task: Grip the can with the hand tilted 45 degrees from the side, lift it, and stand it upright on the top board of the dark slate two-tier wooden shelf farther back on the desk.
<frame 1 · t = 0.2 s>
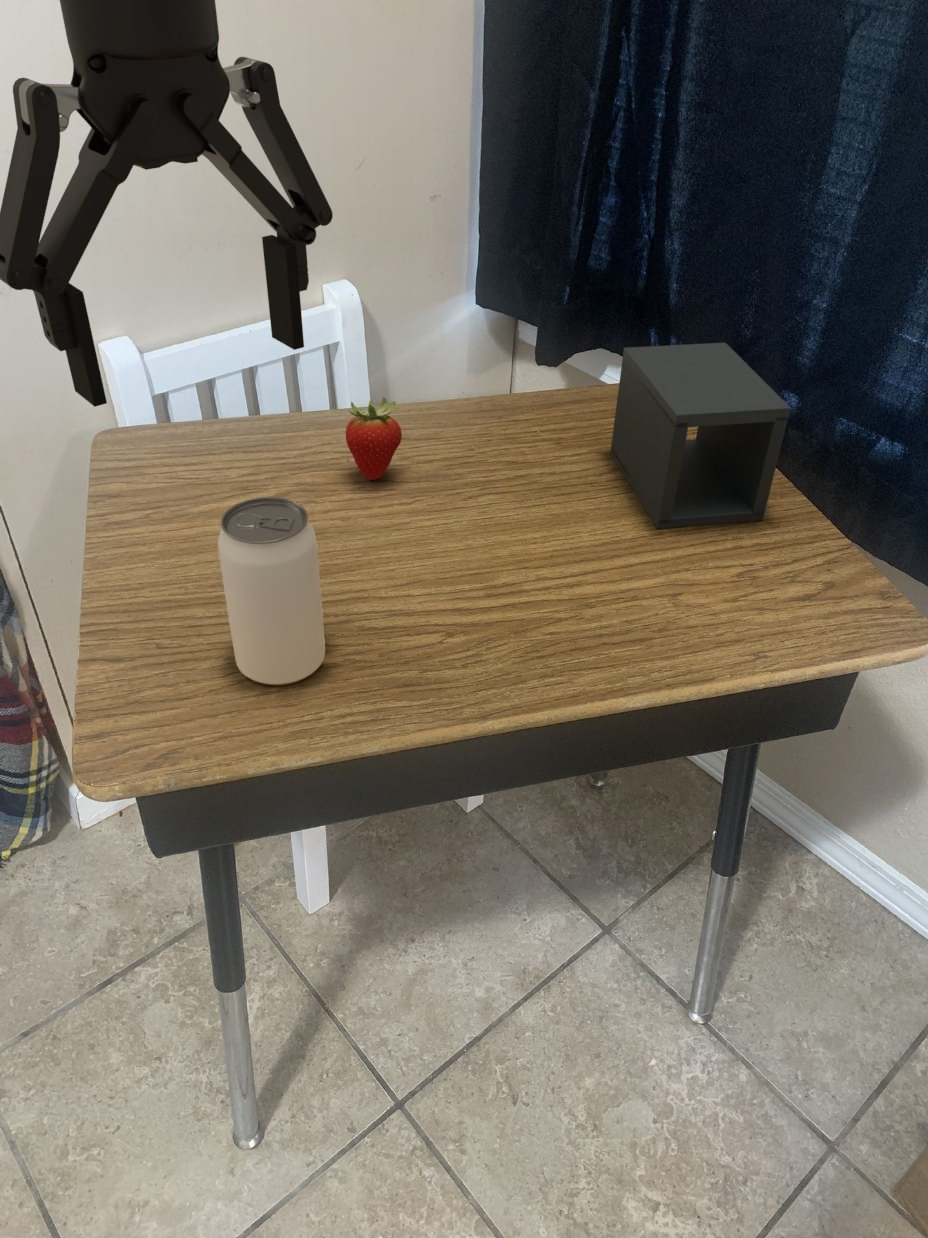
hand: (195, 368, 61), 21 cm above the table, tool pointing down, fingers open, 13 cm apart
can: (281, 661, 71), on the table
shelf: (682, 485, 92), on the table
fruit: (375, 479, 92), on the table
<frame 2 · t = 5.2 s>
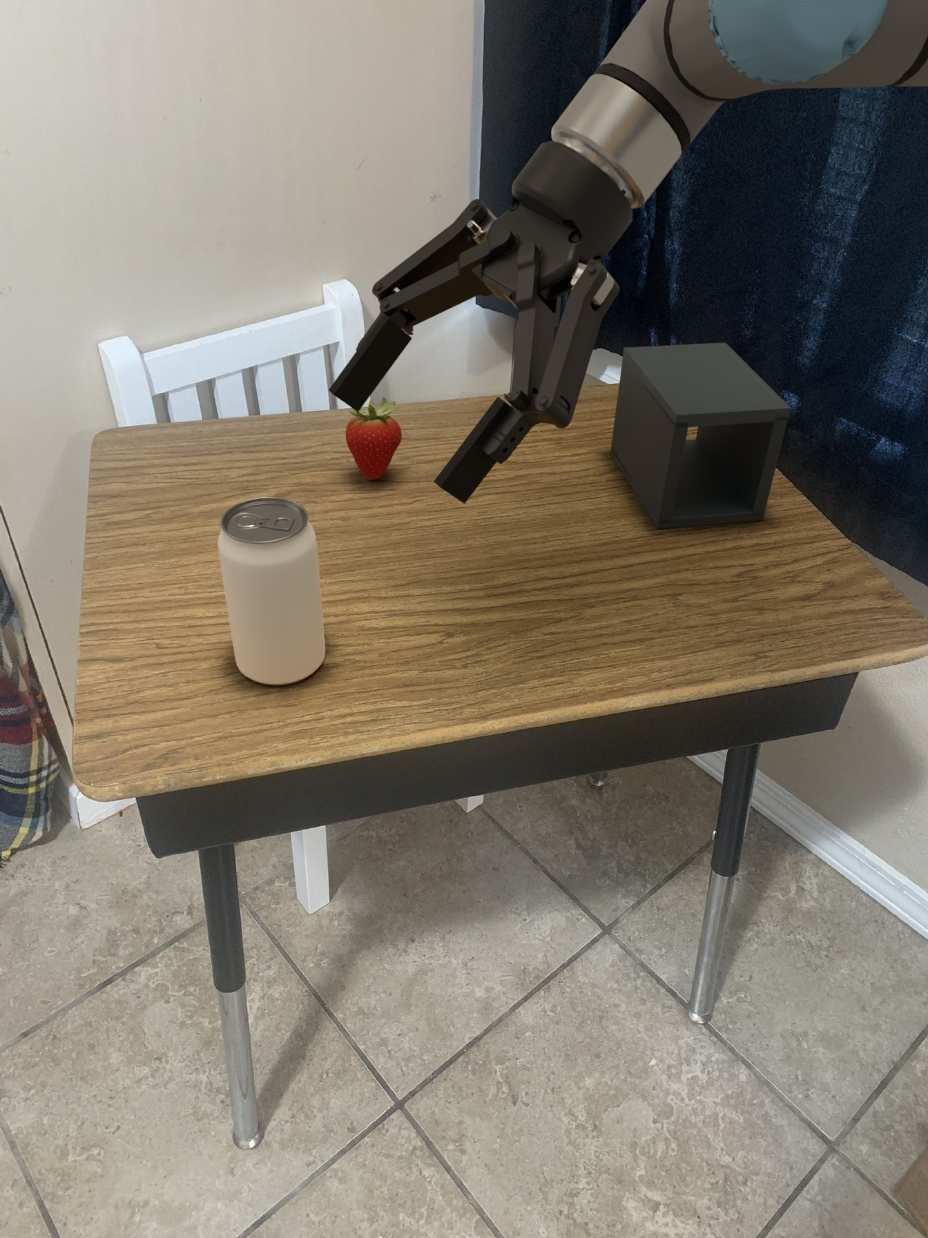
hand: (392, 444, 66), 15 cm above the table, tool tilted 45°, fingers open, 13 cm apart
nothing on the table moved.
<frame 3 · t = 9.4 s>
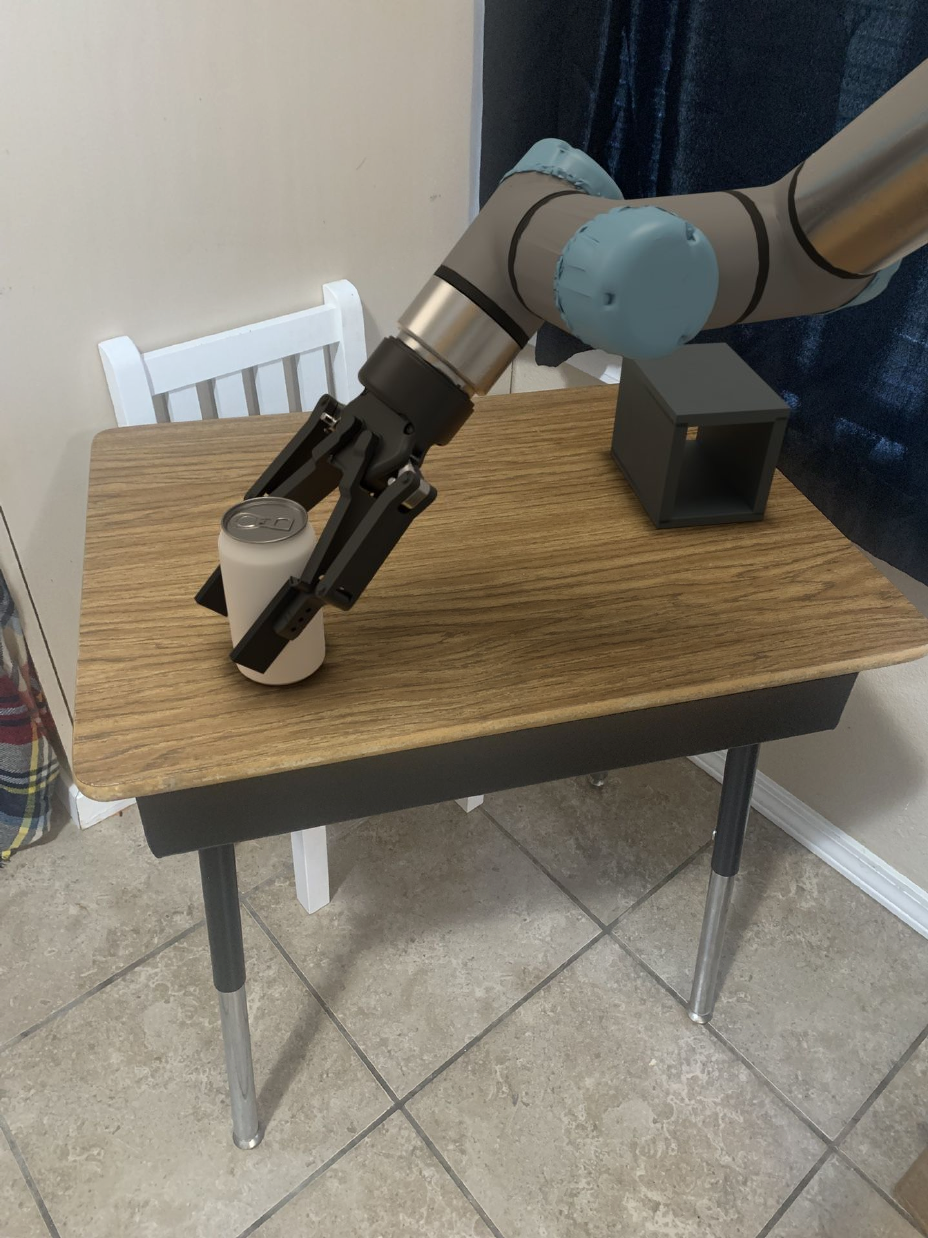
hand: (228, 634, 67), 4 cm above the table, tool tilted 45°, fingers closed on can, 6 cm apart
can: (281, 661, 71), on the table, touching gripper
everything else where it was.
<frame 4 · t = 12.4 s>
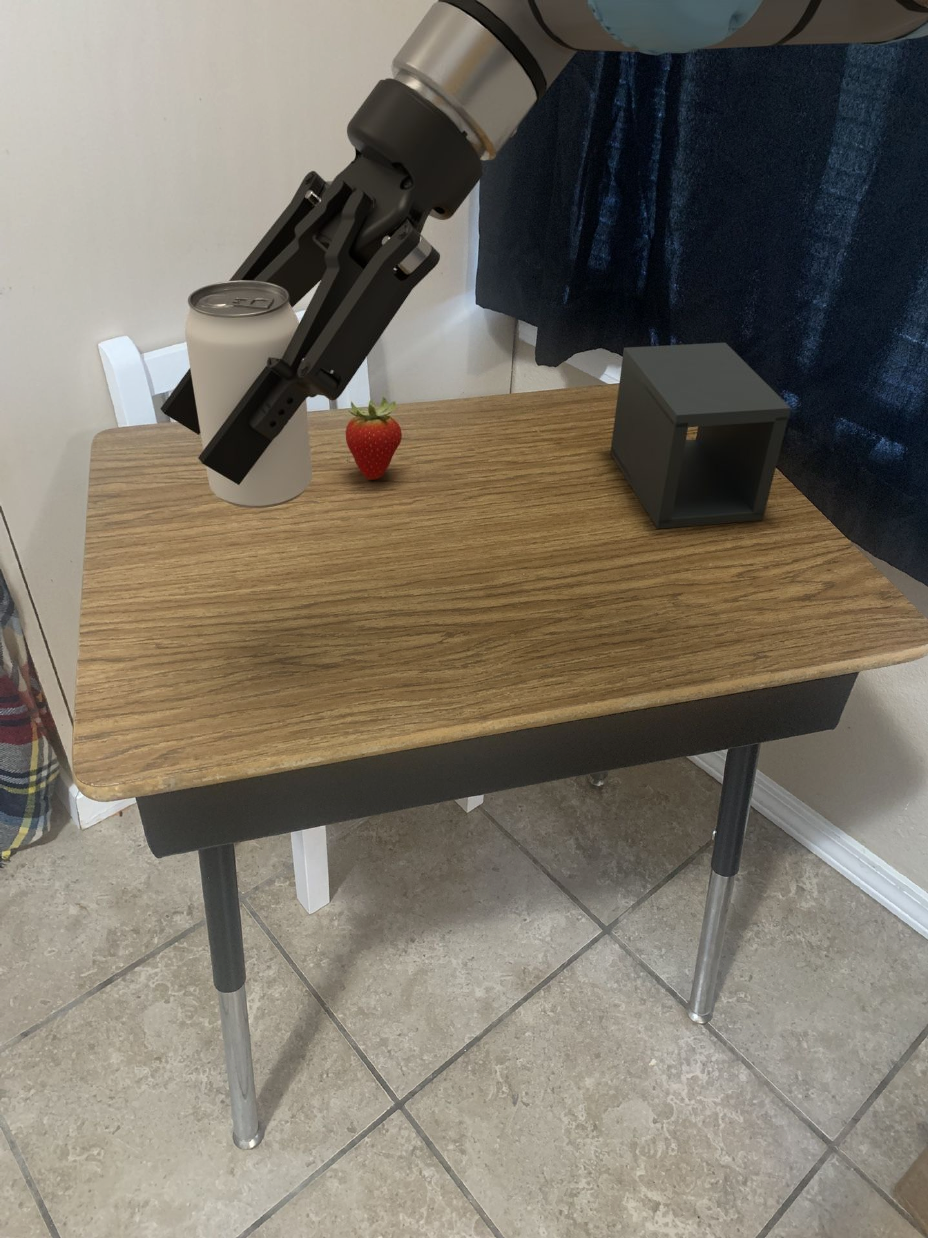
hand: (198, 445, 58), 18 cm above the table, tool tilted 45°, fingers closed on can, 6 cm apart
can: (262, 487, 62), point 14 cm above the table, touching gripper
everything else where it was.
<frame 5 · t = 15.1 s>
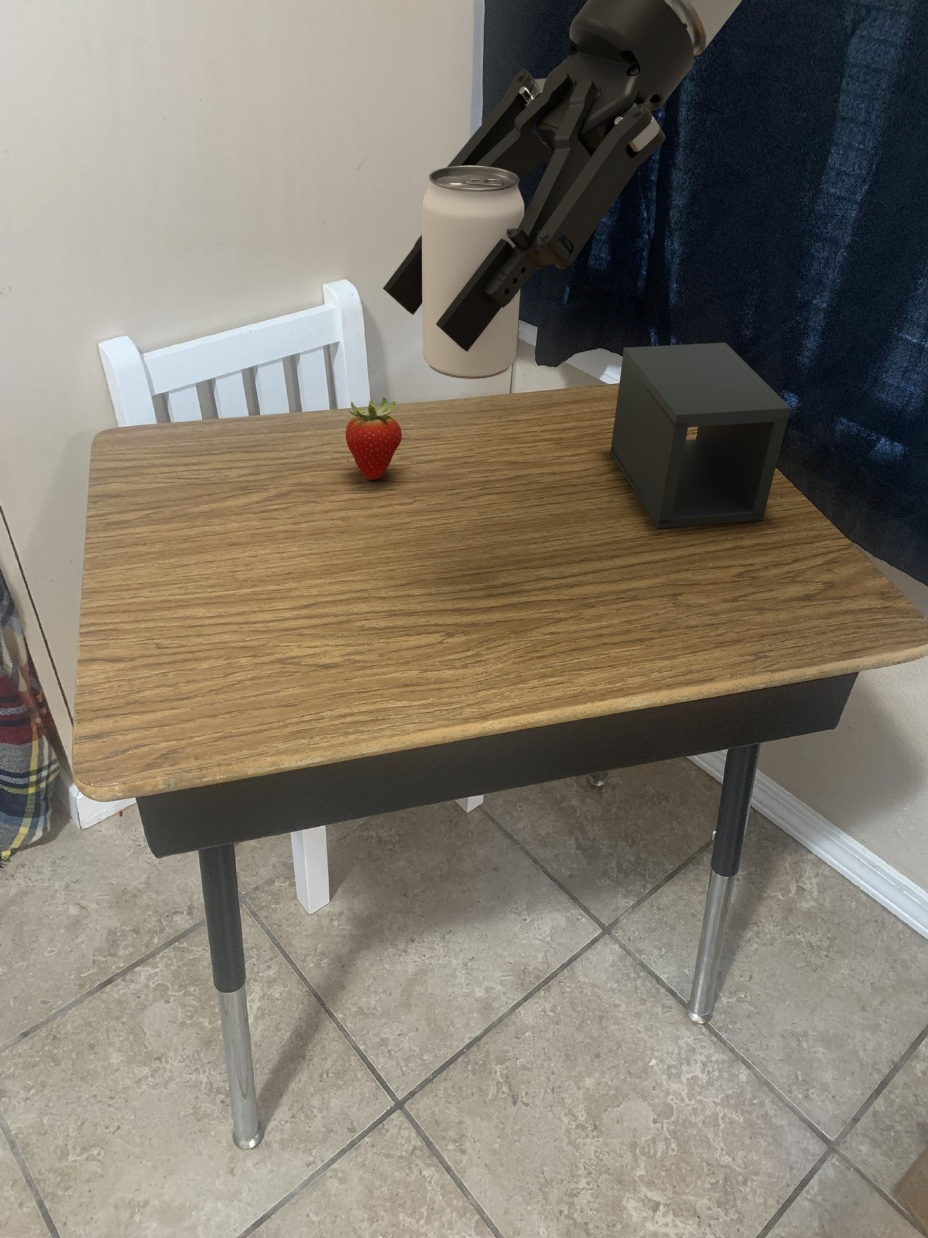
hand: (424, 318, 64), 22 cm above the table, tool tilted 45°, fingers closed on can, 6 cm apart
can: (468, 363, 68), point 19 cm above the table, touching gripper
everything else where it was.
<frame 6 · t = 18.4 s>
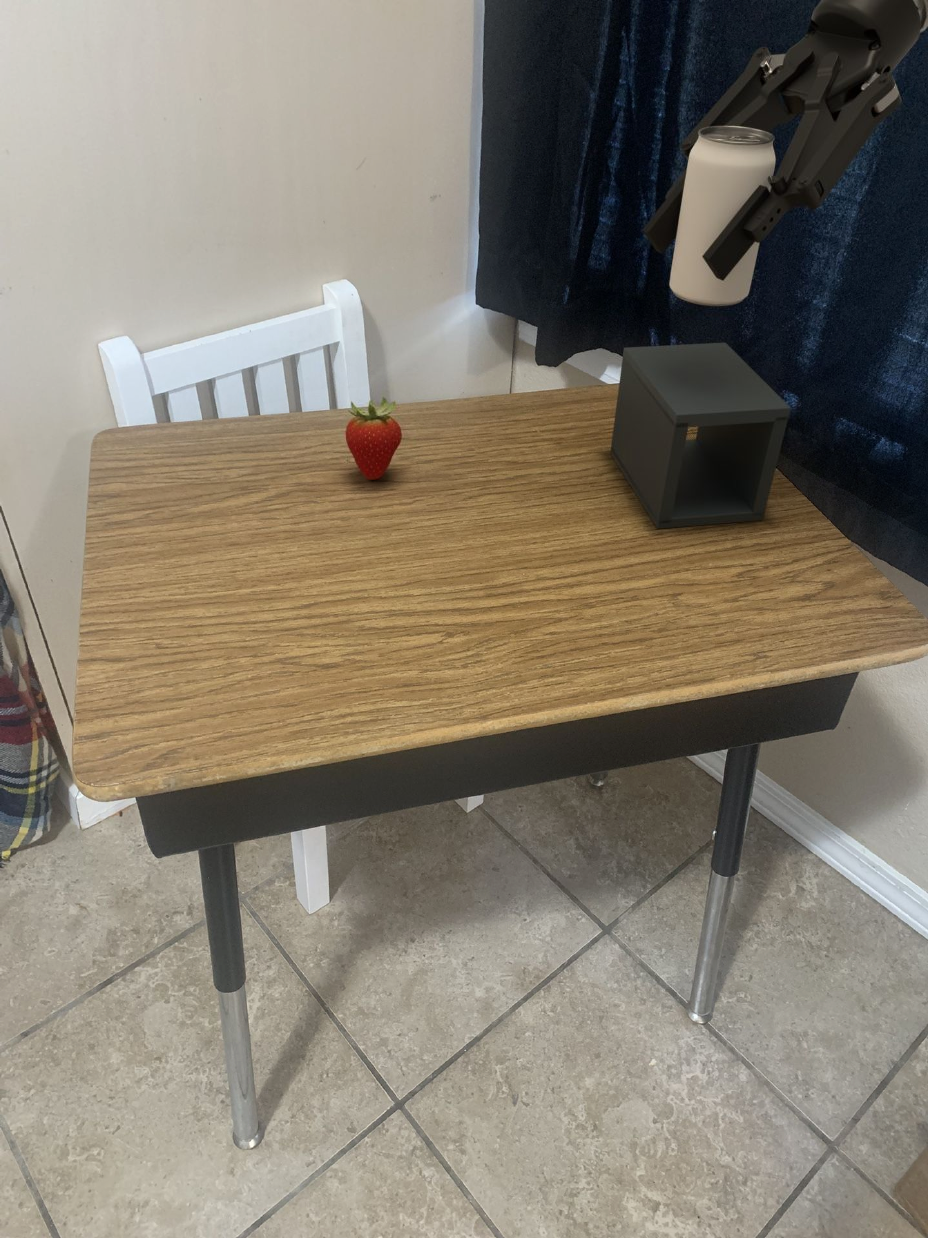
hand: (681, 254, 77), 22 cm above the table, tool tilted 45°, fingers closed on can, 6 cm apart
can: (707, 295, 81), point 18 cm above the table, touching gripper
everything else where it was.
when the fingers open (15 cm above the table, at t = 20.9 s): can stays where it is, resting on shelf.
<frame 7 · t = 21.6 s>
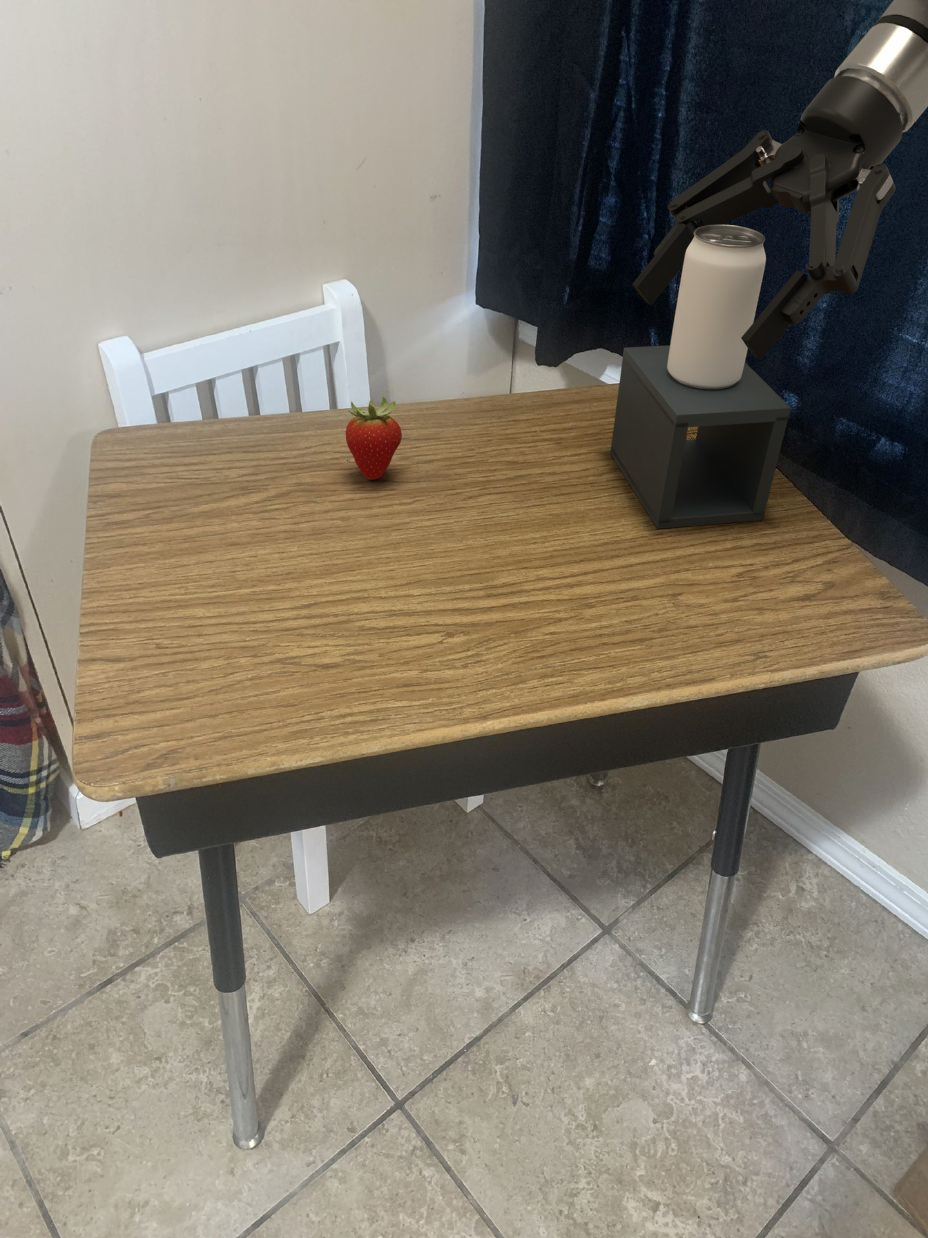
hand: (692, 320, 81), 16 cm above the table, tool tilted 45°, fingers open, 13 cm apart
can: (702, 377, 86), point 11 cm above the table, touching shelf
everything else where it was.
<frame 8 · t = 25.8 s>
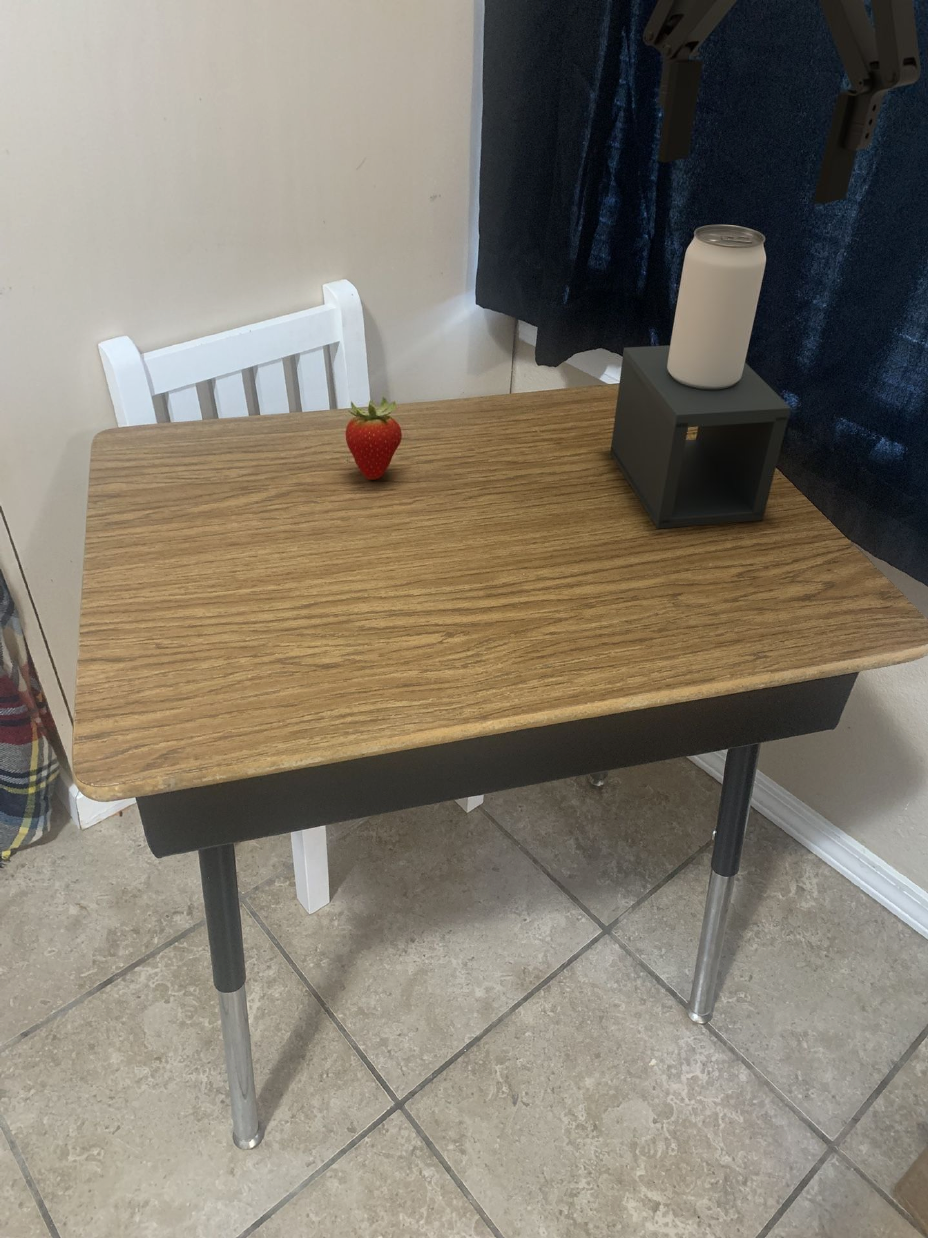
hand: (746, 178, 70), 29 cm above the table, tool pointing down, fingers open, 13 cm apart
nothing on the table moved.
at the end: can inside the target area on the shelf (0.1 cm from its centre), point 10.8 cm above the shelf's base; can tilted 0°; the gripper is holding nothing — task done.
